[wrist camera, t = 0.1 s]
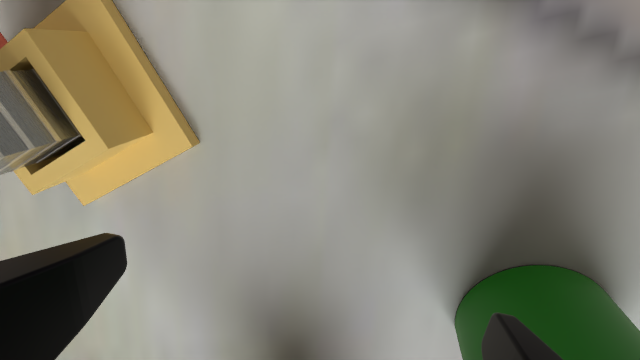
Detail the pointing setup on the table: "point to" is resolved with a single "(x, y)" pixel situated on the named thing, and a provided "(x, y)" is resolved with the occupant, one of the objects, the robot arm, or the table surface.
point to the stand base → (98, 99)
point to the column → (31, 122)
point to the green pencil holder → (549, 314)
